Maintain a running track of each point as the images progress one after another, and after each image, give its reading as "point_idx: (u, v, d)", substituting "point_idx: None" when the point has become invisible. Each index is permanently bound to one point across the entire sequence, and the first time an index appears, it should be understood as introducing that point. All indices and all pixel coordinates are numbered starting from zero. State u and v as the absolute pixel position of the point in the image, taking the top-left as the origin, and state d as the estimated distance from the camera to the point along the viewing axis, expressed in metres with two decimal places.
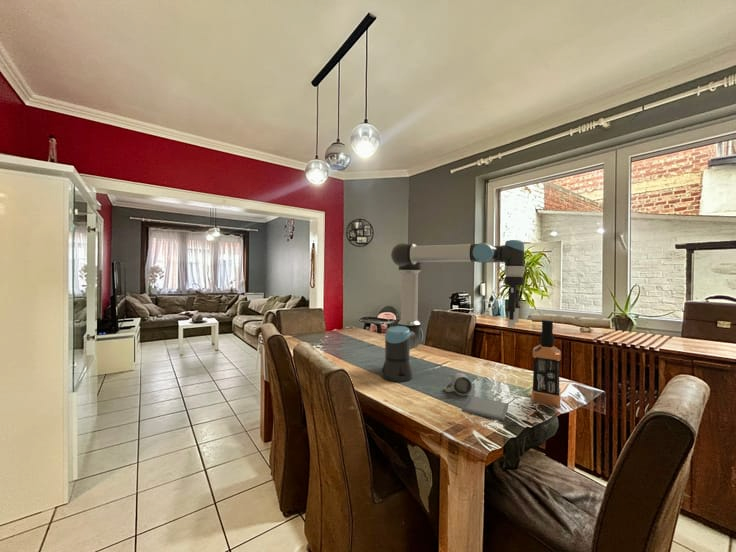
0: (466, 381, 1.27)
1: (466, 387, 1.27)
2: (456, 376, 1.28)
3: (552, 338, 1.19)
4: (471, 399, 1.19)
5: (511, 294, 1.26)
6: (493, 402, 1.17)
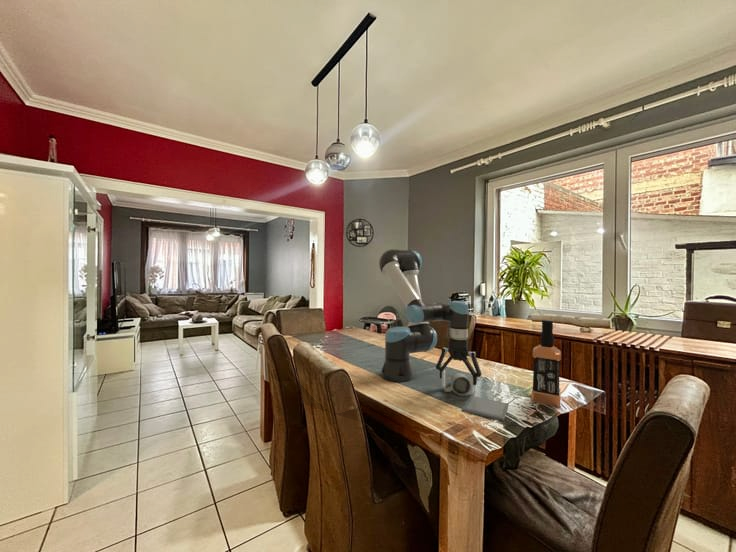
0: (465, 381, 1.26)
1: (465, 387, 1.26)
2: (455, 376, 1.28)
3: (552, 338, 1.19)
4: (471, 399, 1.19)
5: None
6: (493, 402, 1.17)
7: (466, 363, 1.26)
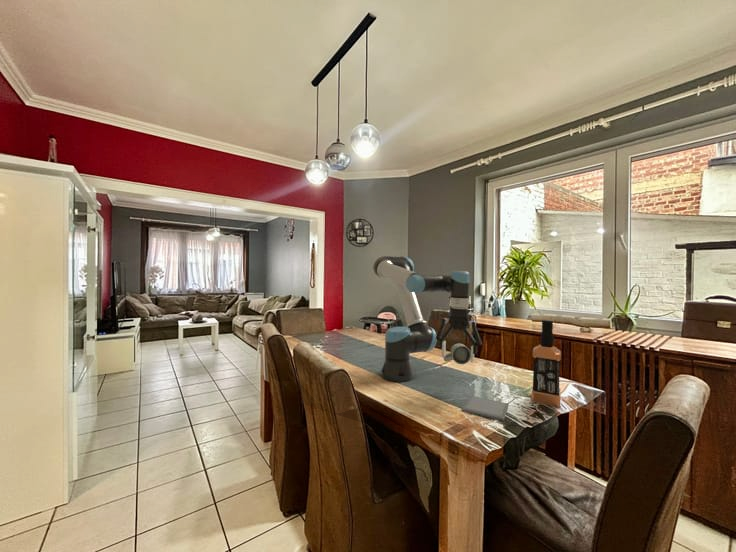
0: (465, 350, 1.26)
1: (465, 356, 1.26)
2: (455, 346, 1.28)
3: (552, 338, 1.19)
4: (471, 399, 1.19)
5: None
6: (493, 402, 1.17)
7: (466, 332, 1.26)
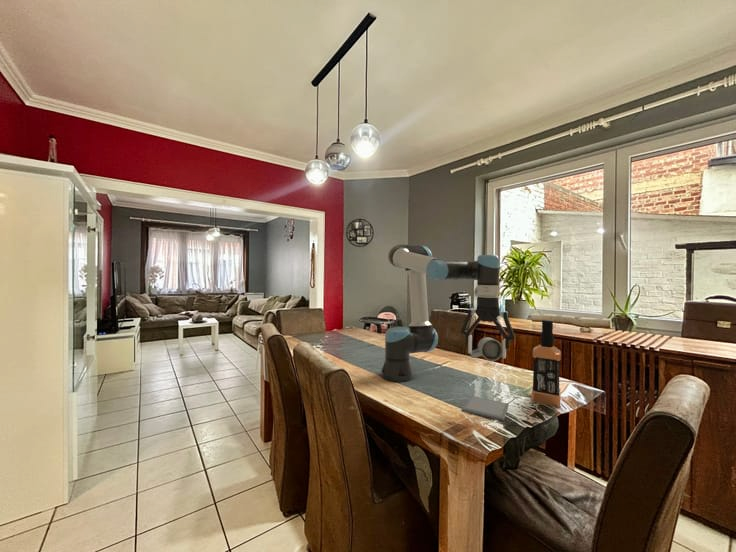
0: (496, 345, 1.11)
1: (496, 352, 1.11)
2: (484, 340, 1.13)
3: (552, 338, 1.19)
4: (471, 399, 1.19)
5: None
6: (493, 402, 1.17)
7: (497, 324, 1.10)
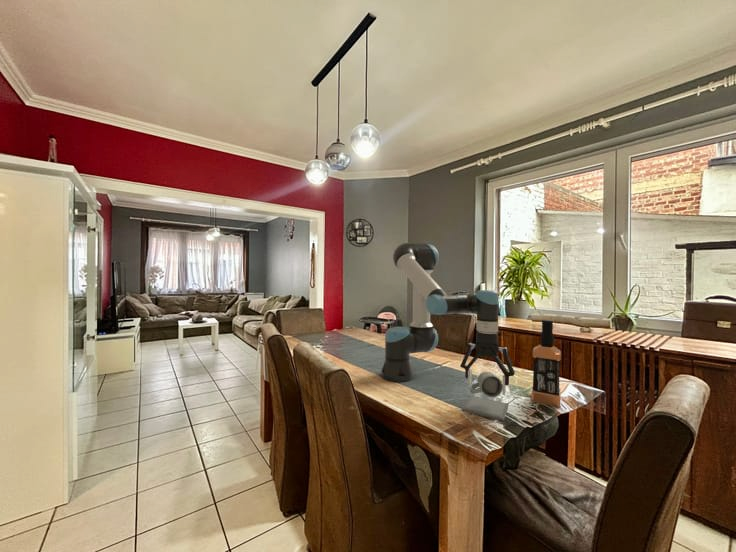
0: (495, 381, 1.11)
1: (495, 388, 1.11)
2: (483, 375, 1.13)
3: (552, 338, 1.19)
4: (471, 399, 1.19)
5: (467, 350, 1.17)
6: (493, 402, 1.17)
7: (497, 360, 1.10)
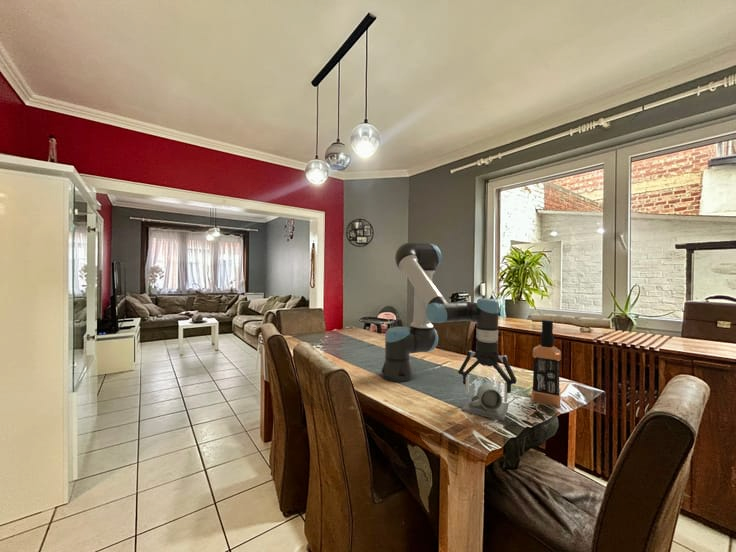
0: (495, 394, 1.11)
1: (495, 401, 1.11)
2: (483, 388, 1.13)
3: (552, 338, 1.19)
4: None
5: (466, 357, 1.17)
6: None
7: (497, 369, 1.10)
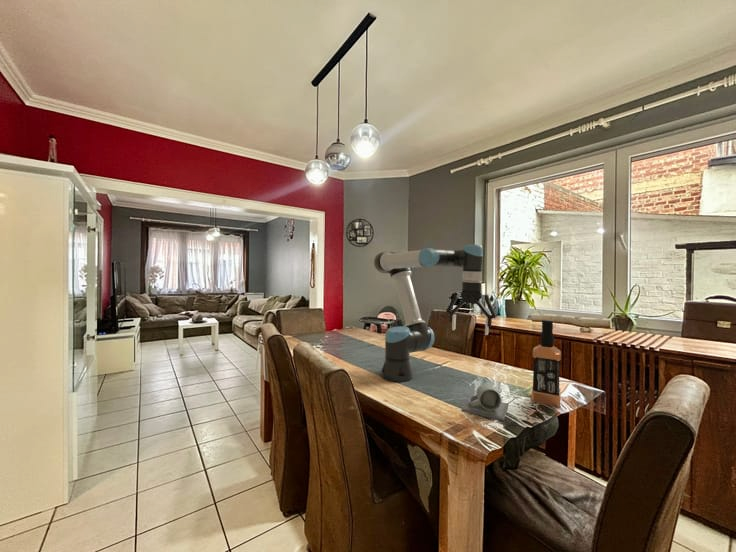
0: (494, 394, 1.11)
1: (494, 401, 1.11)
2: (482, 388, 1.13)
3: (552, 338, 1.19)
4: None
5: None
6: None
7: (480, 305, 1.24)
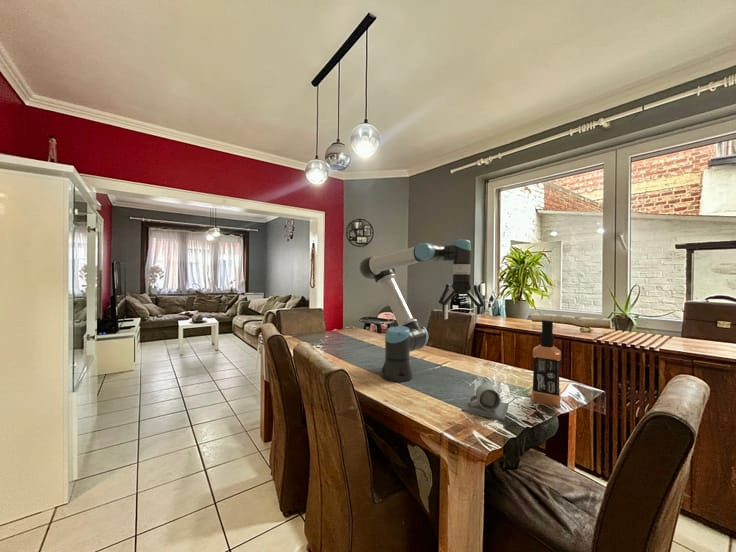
0: (493, 394, 1.11)
1: (493, 401, 1.11)
2: (482, 388, 1.13)
3: (552, 338, 1.19)
4: None
5: None
6: None
7: (469, 295, 1.36)
